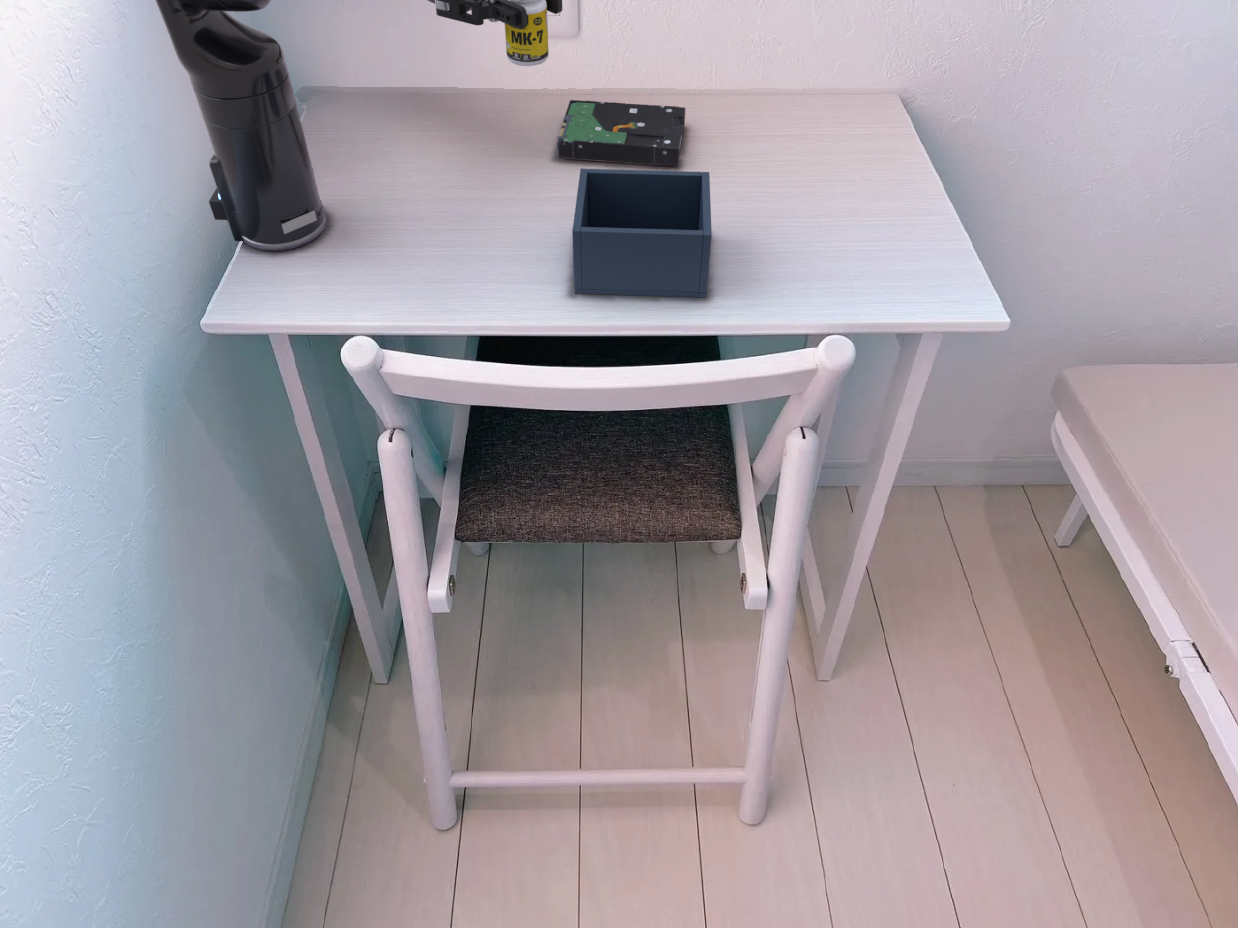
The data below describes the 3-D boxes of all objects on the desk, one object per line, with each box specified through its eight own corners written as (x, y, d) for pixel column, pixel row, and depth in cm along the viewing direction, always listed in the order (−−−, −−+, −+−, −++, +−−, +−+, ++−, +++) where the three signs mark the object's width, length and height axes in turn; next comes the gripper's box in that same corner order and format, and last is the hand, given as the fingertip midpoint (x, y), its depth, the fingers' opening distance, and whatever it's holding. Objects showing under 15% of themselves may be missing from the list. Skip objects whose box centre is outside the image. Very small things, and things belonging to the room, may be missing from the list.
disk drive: (684, 126, 125) (569, 118, 126) (685, 106, 123) (568, 97, 124) (678, 169, 118) (556, 160, 119) (680, 148, 116) (556, 139, 117)
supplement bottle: (508, 69, 110) (502, -8, 104) (505, 50, 113) (499, -26, 107) (551, 66, 111) (548, -11, 104) (546, 47, 114) (543, -29, 107)
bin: (574, 293, 101) (572, 231, 96) (582, 229, 109) (580, 168, 104) (706, 297, 101) (711, 235, 95) (704, 233, 109) (709, 171, 103)
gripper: (384, -49, 107) (491, -4, 100) (481, -83, 115) (587, -44, 107) (395, 20, 113) (497, 67, 105) (487, -16, 120) (588, 25, 113)
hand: (542, 11), depth 106 cm, fingers closed on supplement bottle, 4 cm apart
